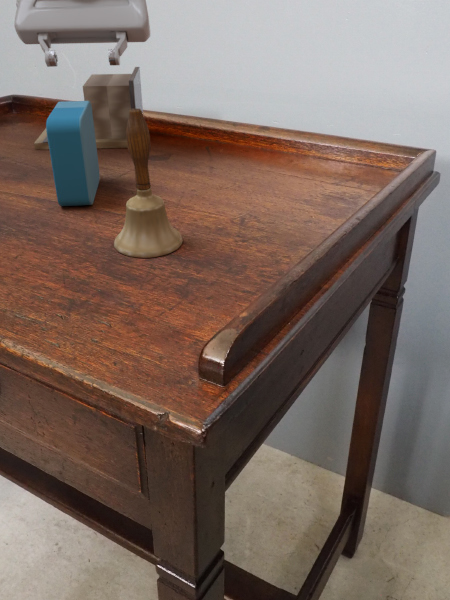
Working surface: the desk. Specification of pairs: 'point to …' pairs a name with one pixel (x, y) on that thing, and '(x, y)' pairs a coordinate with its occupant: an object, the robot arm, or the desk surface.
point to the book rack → (108, 107)
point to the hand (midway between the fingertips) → (82, 63)
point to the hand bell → (144, 203)
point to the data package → (73, 152)
